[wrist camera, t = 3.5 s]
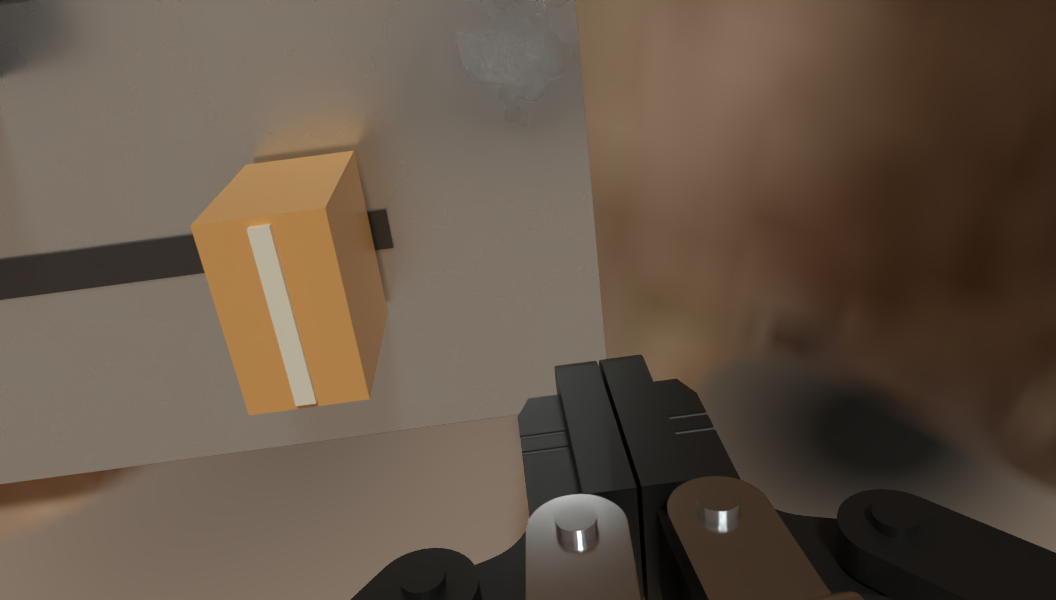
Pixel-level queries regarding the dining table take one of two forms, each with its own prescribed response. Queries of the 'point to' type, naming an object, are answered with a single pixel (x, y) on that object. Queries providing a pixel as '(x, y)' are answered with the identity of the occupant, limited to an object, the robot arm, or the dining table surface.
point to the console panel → (270, 135)
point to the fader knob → (295, 282)
